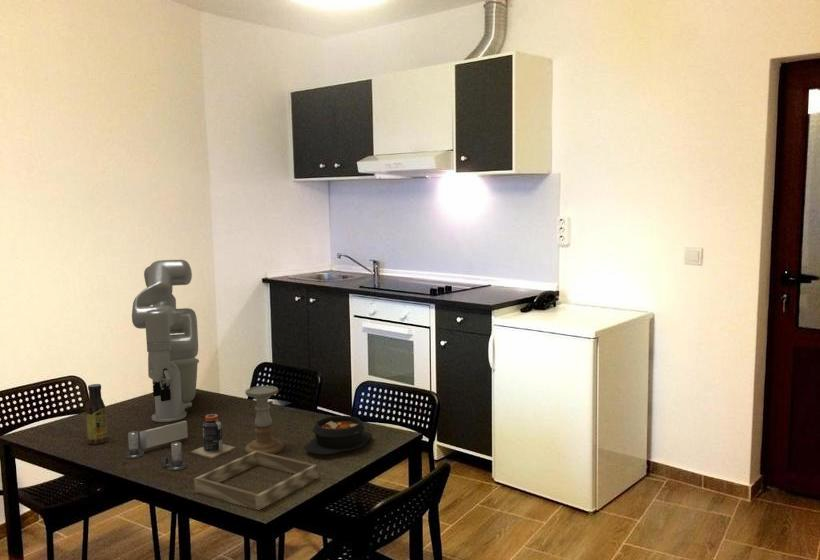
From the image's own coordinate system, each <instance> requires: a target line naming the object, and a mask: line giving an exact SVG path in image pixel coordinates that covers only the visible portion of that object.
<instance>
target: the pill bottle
mask: <svg viewBox="0 0 820 560" xmlns="http://www.w3.org/2000/svg"><path fill="white" fill-rule="evenodd" d="M222 431H223V429H222V422H221V421H220V420H219V415H218V414H216V413H214V414H213V413H211V414H210V413H209V414H206V415H205V417H204V422H203V423H202V440H203V442H202V443H203V446H204V450H205V451H207V452H214V451H218V450H220V449H222V447H223V445H222V444H223V432H222Z"/></svg>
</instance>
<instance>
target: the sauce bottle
mask: <svg viewBox="0 0 820 560" xmlns="http://www.w3.org/2000/svg"><path fill="white" fill-rule="evenodd" d="M87 390H88V400H87V403H86V406H85V420H86V421H85V422H86V438H87V443H88V444H89V445H99V444H102V443H103V444H104V443H105V442H107V440H108V438H107V437H108V426H107V425H108V424H107V423H108V422H107V408H106V404H105V403H104V400H103V398H102V384H100V383H92V384H89V385H87Z"/></svg>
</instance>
